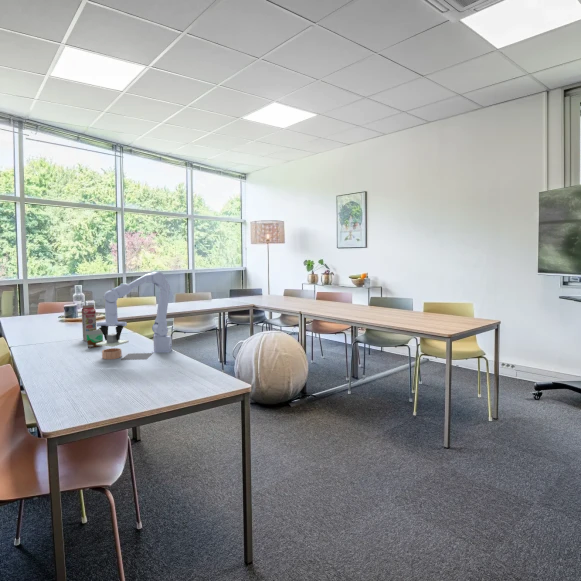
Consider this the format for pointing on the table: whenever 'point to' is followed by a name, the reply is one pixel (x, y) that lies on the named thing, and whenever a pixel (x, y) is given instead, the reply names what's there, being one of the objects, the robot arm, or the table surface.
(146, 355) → the mat
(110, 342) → the sheet lid
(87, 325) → the juice carton
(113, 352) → the tan bowl
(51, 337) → the table surface
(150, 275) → the robot arm
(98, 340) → the food container
